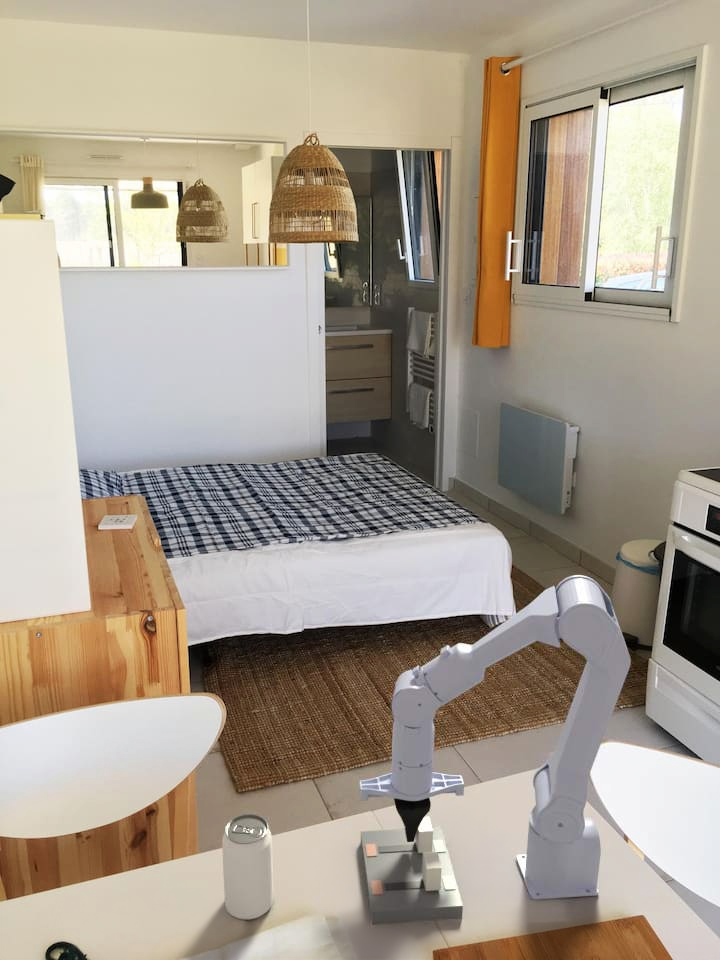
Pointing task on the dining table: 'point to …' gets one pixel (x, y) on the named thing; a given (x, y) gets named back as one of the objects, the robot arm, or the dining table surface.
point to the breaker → (431, 871)
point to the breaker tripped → (424, 836)
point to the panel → (406, 879)
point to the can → (247, 866)
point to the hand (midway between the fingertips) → (409, 837)
